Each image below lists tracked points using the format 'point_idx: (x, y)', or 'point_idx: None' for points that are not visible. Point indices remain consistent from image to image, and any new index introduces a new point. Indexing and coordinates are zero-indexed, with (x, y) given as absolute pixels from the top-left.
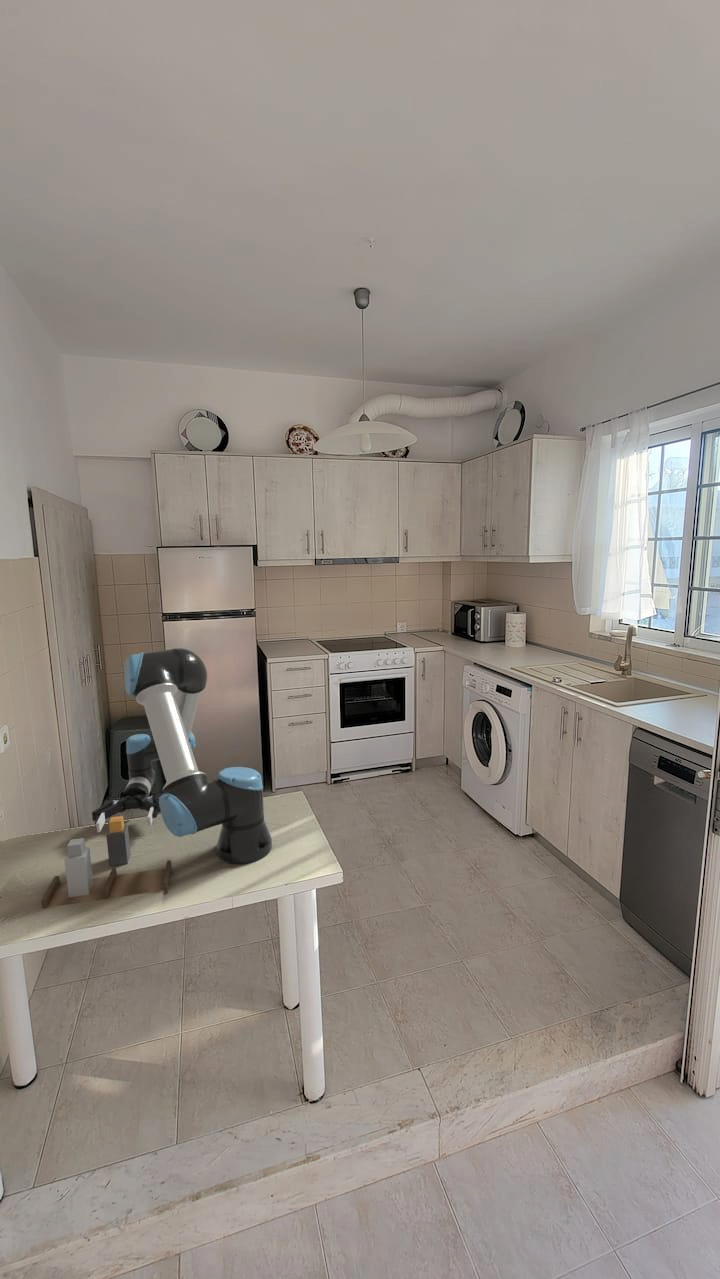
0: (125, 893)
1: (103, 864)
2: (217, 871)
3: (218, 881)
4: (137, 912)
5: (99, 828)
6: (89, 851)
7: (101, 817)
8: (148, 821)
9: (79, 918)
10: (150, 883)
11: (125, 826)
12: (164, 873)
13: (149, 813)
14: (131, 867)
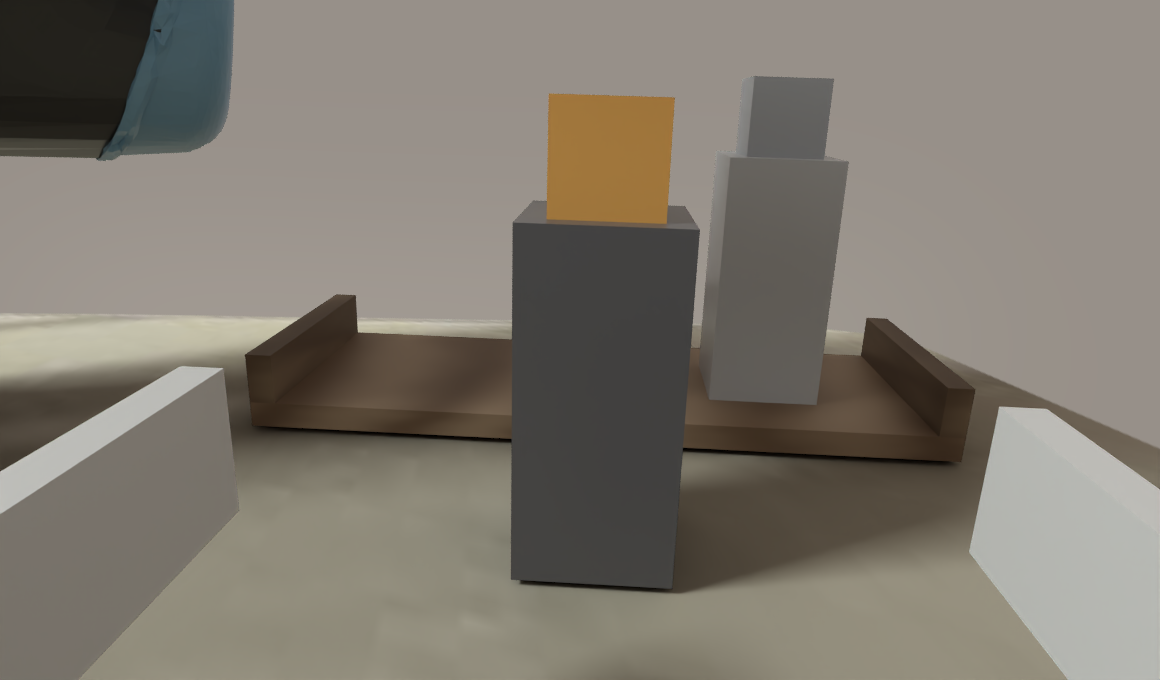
0: None
1: (752, 581)
2: (30, 388)
3: (90, 356)
4: (475, 330)
5: (983, 494)
6: (726, 182)
7: (1150, 518)
8: (221, 436)
9: (693, 345)
10: (403, 356)
11: (532, 216)
12: (326, 314)
13: (122, 423)
14: (503, 505)
